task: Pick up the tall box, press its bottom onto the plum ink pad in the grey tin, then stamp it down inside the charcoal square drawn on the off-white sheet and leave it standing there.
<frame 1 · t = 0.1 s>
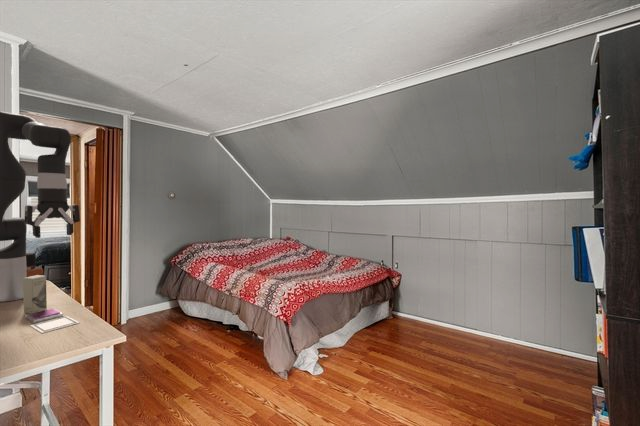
hand: (54, 236, 108), 29 cm above the table, tool pointing down, fingers open, 8 cm apart
paper: (55, 324, 107), on the table
battery: (33, 289, 147), on the table
deodorant: (28, 286, 152), on the table
box: (35, 311, 120), on the table
ink pad: (44, 317, 114), on the table
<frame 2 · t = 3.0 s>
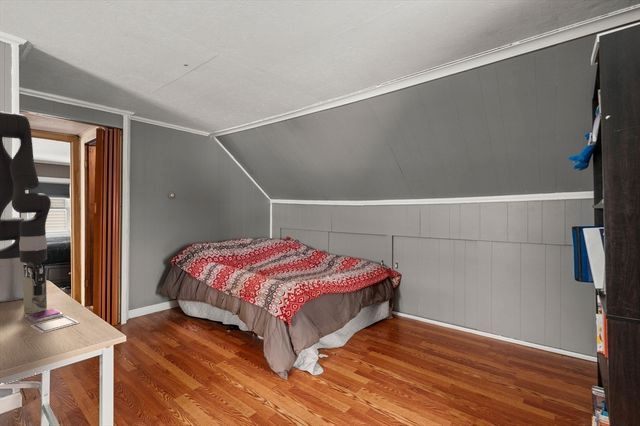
hand: (35, 293, 119), 7 cm above the table, tool pointing down, fingers closed on box, 5 cm apart
box: (35, 311, 120), on the table, touching gripper
everything else where it was.
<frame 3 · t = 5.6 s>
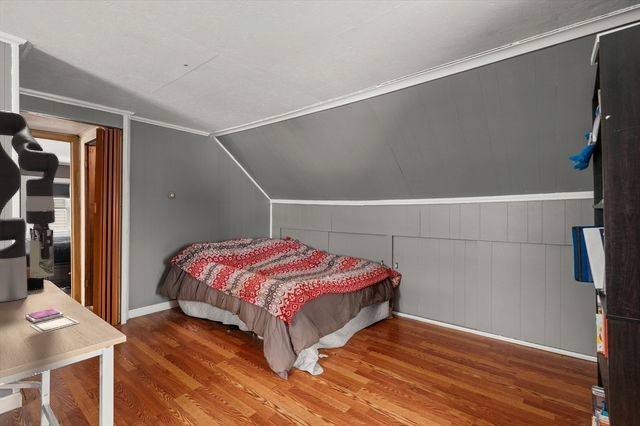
hand: (42, 258, 113), 21 cm above the table, tool pointing down, fingers closed on box, 5 cm apart
box: (42, 277, 113), point 14 cm above the table, touching gripper
everything else where it was.
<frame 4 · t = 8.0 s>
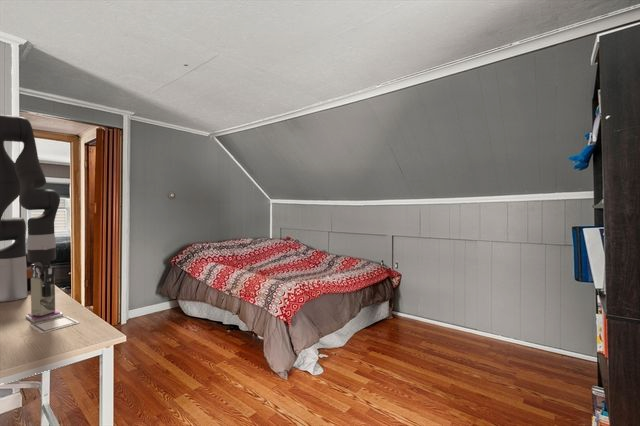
hand: (43, 295, 113), 8 cm above the table, tool pointing down, fingers closed on box, 5 cm apart
box: (43, 313, 114), point 1 cm above the table, touching gripper, ink pad
everything else where it was.
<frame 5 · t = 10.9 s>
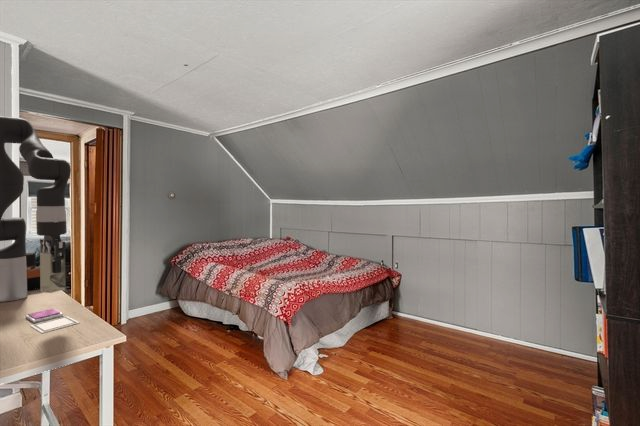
hand: (53, 271, 107), 18 cm above the table, tool pointing down, fingers closed on box, 5 cm apart
box: (53, 291, 107), point 11 cm above the table, touching gripper
everything else where it was.
when the fingers open (7 cm above the table, at t = 13.3 s): box stays where it is, resting on paper.
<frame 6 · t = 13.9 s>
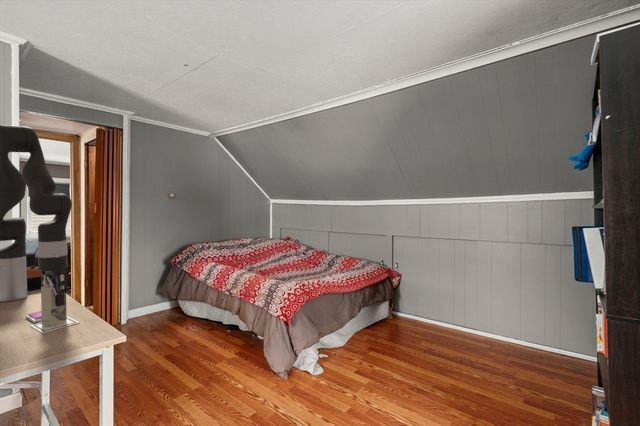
hand: (54, 303, 107), 7 cm above the table, tool pointing down, fingers open, 8 cm apart
box: (54, 324, 107), resting on paper
everything else where it was.
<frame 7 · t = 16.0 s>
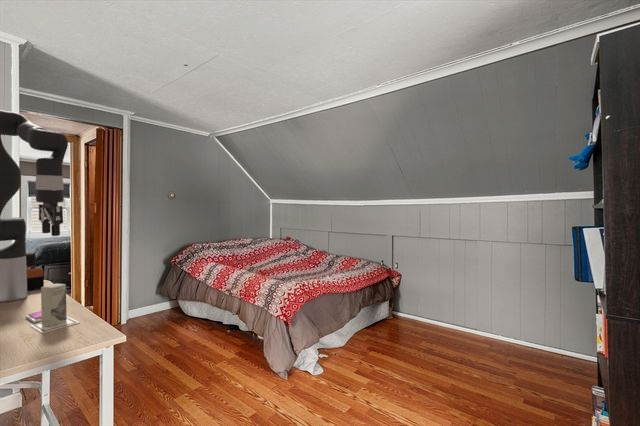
hand: (51, 234, 115), 29 cm above the table, tool pointing down, fingers open, 8 cm apart
nothing on the table moved.
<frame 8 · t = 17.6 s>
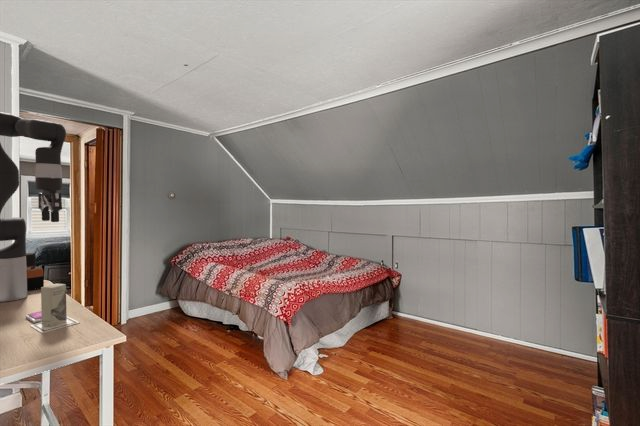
hand: (50, 221, 119), 33 cm above the table, tool pointing down, fingers open, 8 cm apart
nothing on the table moved.
at the end: box 0.1 cm off-centre on the paper, point 0.1 cm above the paper's base; box tilted 0°; the gripper is holding nothing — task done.
